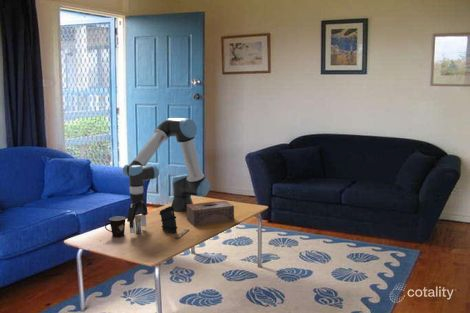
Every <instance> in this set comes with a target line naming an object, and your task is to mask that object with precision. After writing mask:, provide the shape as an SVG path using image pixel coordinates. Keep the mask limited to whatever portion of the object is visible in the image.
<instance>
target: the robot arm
mask: <svg viewBox="0 0 470 313" xmlns="http://www.w3.org/2000/svg"><path fill="white" fill-rule="evenodd" d="M197 131H198V127H197V124H196V122H195V121H194V120H193V119H192V118H187V117H183V118H182V117H169V118H167V119H165V120H164V121H162V122H161V123H159V125H157V127H156V128H155V129H154V131H153V132H154V133H153V134H152V136H151V137H150V139H148V141H147V142H146V143H145V144H144V146H143V147H142V149H141V150H140V151H139V152H138V154H137V155H136V157H134V159H133V160H132V161H131V162H130V163H126V164H124V166H123V168H122V173H123V175H124V176H125V177H127V178H129V179H128V180H129V199H130V201H131V202H132V203H128V204H129V206H128V207H129V208H128V214H127V220H126V222H128V223H129V233H130V234H136V225H135V216H136V215H137V212H138V211H139V212H140V215H141V227H147V215H148V209H147V208H148V207H147V205H146V202H145V200H146V199H145V194H144V182H145V181H149V180H154V179H156V178H158V177H159V175H160V171H159V170H160V169H159V168H158V167H157V165H149V166H146V165H147V164H148V162H149V161H150V160H151V159H152V157H153V156H154V155H155V153H156V152H157V151H158V150H159V148H160V147H161V146H162V144H163V143H164V141H168V139H169V138H170V137H175V138H176V139H175V140H176V142H177V143H179V144H180V149H181V152H182V156H183V160H184V164H185V168H186V173H185V174H178V175H175V176H173V178H172V190H173V192H172V193H173V198H172V201H171V205H170V206H173V208H174V209H173V210H174V212H175V211H176V212H187V205H189V204H194V202H193V200H192V196H193V197H194V196H195V197H205V196H207V194H209V192H210V189H211V183H210V182H211V181H209V180H208V179H207V178H205V174H204V173H203V172H202V170H201V167H200V166H201V165H200V162H199V159H198V153H197V149H196V147H195V141H194V140H195V137H196V135H197Z"/></svg>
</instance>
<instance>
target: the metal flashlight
mask: <svg viewBox="0 0 470 313" xmlns="http://www.w3.org/2000/svg"><path fill="white" fill-rule="evenodd" d="M141 215H142V214H136V215H135V219H134V222H135V234H136V235H139V234H142V226H141Z"/></svg>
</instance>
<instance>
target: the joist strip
mask: <svg viewBox="0 0 470 313" xmlns="http://www.w3.org/2000/svg"><path fill="white" fill-rule="evenodd" d="M189 231H190V228H189V229H188V228H185V229H184V230H182V231H181V232H180V233H178V234H177V235H176V236H175V237H174V239H177V240H178V239H179V240H180V238H181V237H183V236H184V235H185V234H186V233H188V232H189Z"/></svg>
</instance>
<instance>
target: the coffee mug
mask: <svg viewBox="0 0 470 313" xmlns="http://www.w3.org/2000/svg"><path fill="white" fill-rule="evenodd" d="M107 225H110V229H111V230H109V229H108V228H107ZM104 228H105V230H106V231H108V232H110V233H111V234H112V238H123V237H124V236H125V233H126V232H125V231H126V230H125V228H126V217H125V216H121V215H120V216H119V215H118V216H117V215H116V216H112V217H109V222H106V224H105V225H104Z"/></svg>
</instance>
